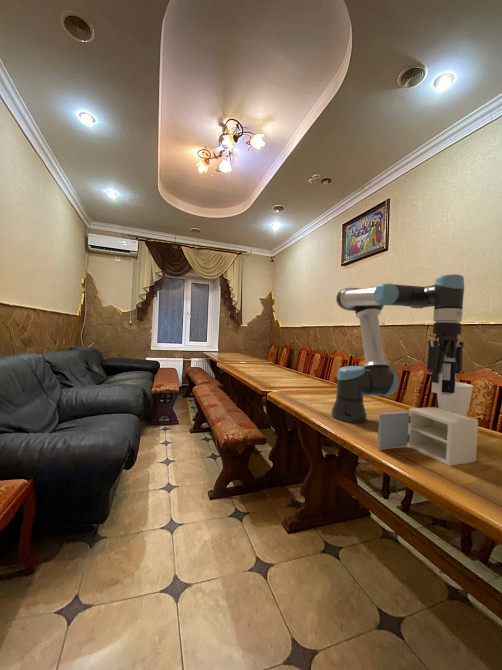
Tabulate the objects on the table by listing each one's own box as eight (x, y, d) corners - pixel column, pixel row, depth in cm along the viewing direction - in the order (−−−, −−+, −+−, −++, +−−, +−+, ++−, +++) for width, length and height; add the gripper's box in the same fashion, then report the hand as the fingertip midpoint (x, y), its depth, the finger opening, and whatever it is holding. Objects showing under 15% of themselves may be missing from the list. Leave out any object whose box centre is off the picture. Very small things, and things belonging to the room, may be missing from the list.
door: (374, 446, 86) (376, 412, 86) (403, 442, 91) (405, 410, 91) (380, 449, 84) (382, 414, 84) (409, 445, 89) (411, 412, 88)
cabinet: (406, 445, 90) (409, 408, 90) (431, 442, 94) (433, 407, 94) (449, 465, 77) (451, 422, 76) (475, 461, 80) (478, 420, 80)
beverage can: (458, 396, 81) (460, 358, 81) (438, 394, 83) (440, 357, 82) (448, 392, 87) (450, 357, 87) (429, 390, 88) (431, 356, 88)
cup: (475, 443, 95) (479, 385, 95) (462, 449, 89) (466, 387, 89) (440, 432, 105) (443, 379, 105) (426, 437, 99) (429, 381, 99)
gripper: (438, 320, 78) (434, 396, 78) (479, 324, 84) (474, 394, 84) (415, 321, 85) (411, 390, 85) (454, 324, 91) (450, 389, 91)
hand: (443, 392), depth 85 cm, fingers closed on beverage can, 6 cm apart
